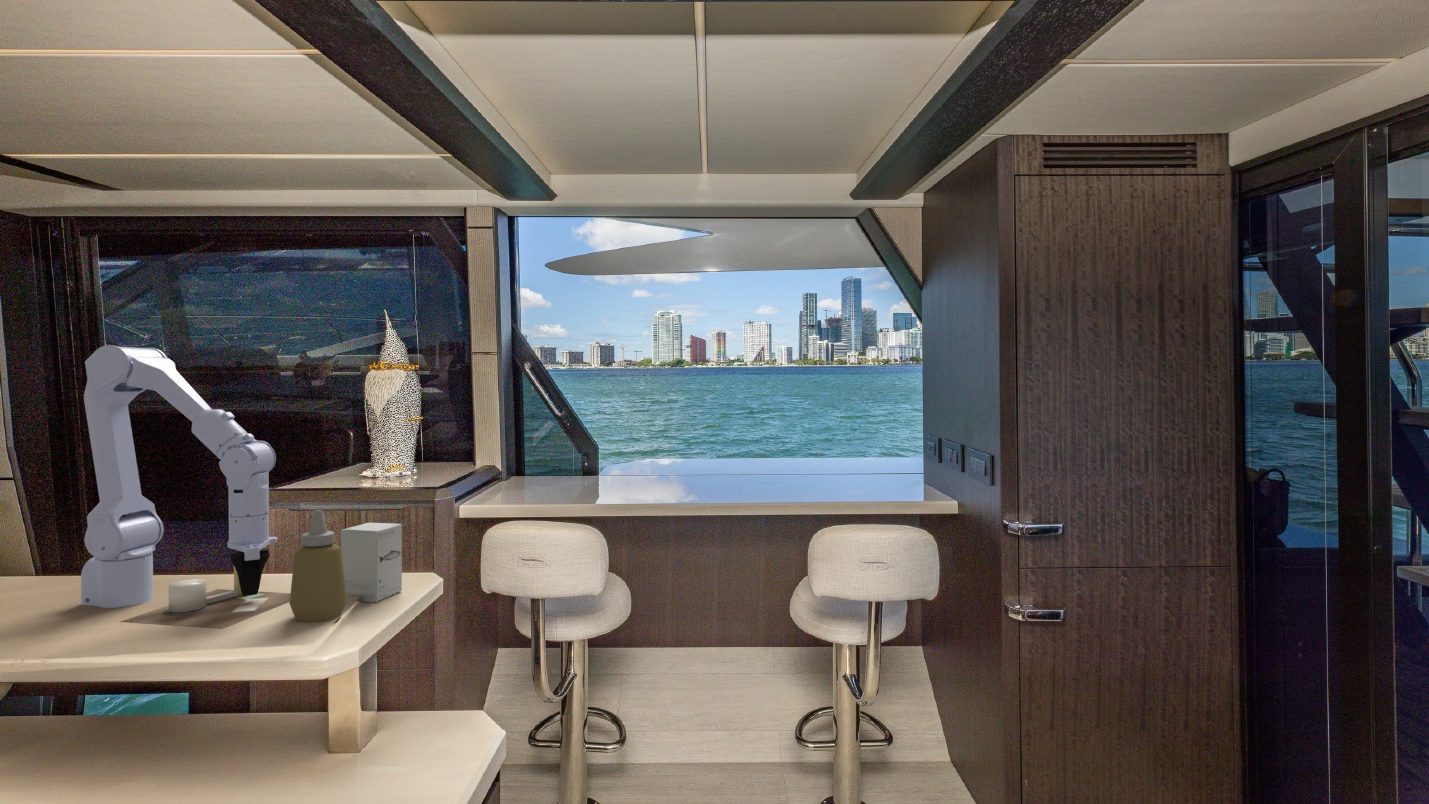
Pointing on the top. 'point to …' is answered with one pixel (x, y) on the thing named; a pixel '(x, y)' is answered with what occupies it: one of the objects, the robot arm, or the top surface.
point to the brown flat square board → (216, 611)
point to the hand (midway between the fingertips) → (249, 594)
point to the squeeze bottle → (318, 575)
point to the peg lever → (196, 594)
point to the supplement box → (372, 560)
